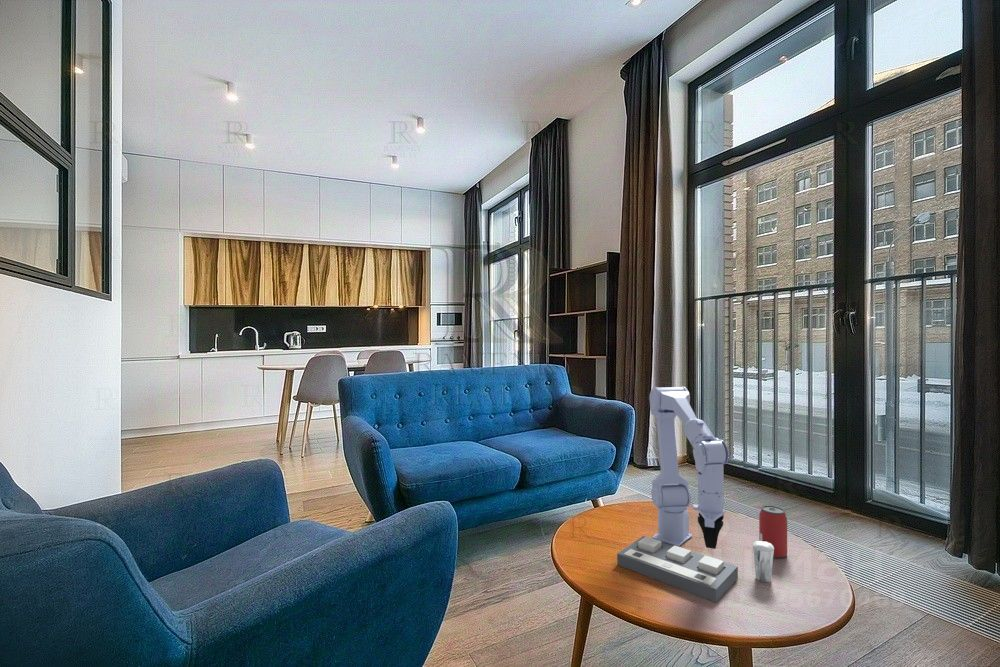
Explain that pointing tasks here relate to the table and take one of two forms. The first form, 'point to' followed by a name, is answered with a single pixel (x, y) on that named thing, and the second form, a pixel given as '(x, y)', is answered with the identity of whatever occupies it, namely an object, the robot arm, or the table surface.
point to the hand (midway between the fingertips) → (710, 545)
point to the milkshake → (763, 560)
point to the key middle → (679, 554)
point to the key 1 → (649, 544)
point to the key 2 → (711, 565)
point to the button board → (678, 571)
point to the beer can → (774, 529)
